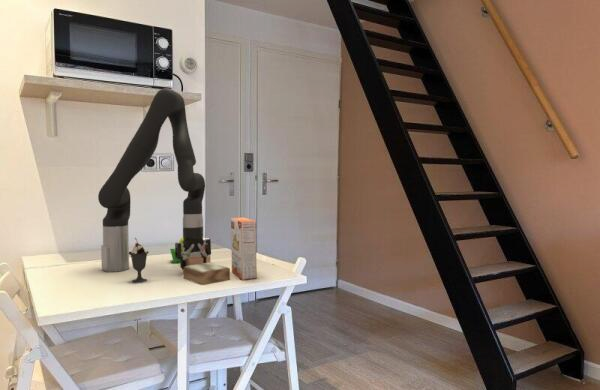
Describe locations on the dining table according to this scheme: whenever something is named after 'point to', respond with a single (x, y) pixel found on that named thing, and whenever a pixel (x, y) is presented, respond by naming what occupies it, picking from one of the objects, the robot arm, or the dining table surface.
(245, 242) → the cracker box
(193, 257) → the cube
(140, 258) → the sundae
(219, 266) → the block
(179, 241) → the fruit basket
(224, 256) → the dining table surface
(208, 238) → the small box
